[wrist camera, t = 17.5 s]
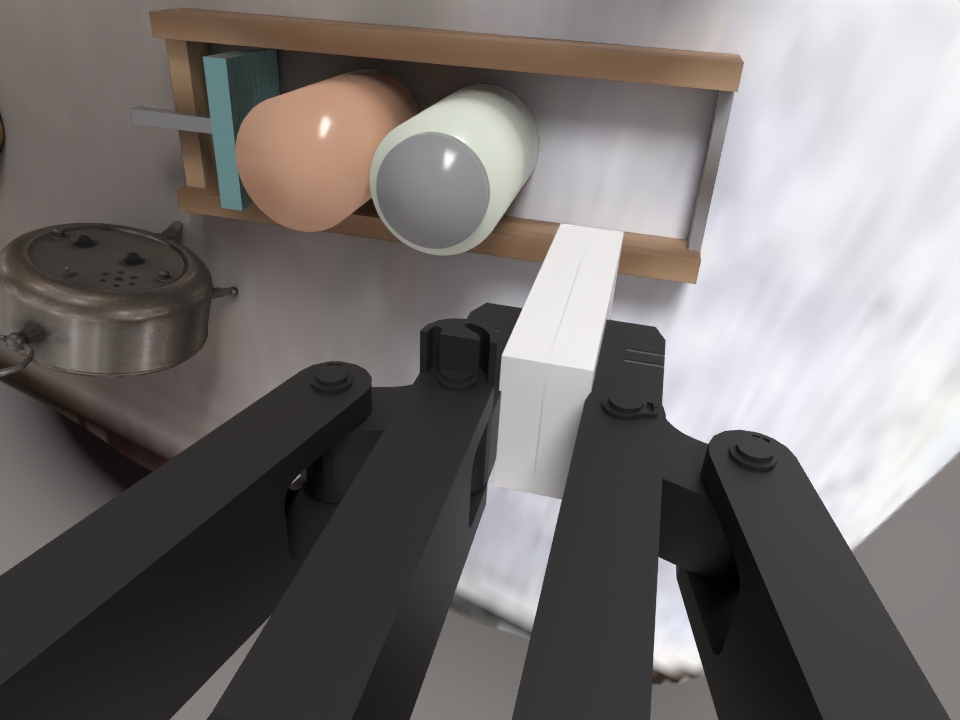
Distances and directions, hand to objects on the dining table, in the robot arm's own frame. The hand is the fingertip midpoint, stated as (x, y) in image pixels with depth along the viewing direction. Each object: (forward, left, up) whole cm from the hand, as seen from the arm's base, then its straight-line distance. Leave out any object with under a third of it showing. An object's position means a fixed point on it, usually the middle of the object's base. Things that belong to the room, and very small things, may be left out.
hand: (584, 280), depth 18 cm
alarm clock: (+11, -28, -22) cm, 37 cm away
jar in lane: (+2, -14, -22) cm, 26 cm away
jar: (+2, -8, -22) cm, 23 cm away
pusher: (+2, -23, -22) cm, 31 cm away
